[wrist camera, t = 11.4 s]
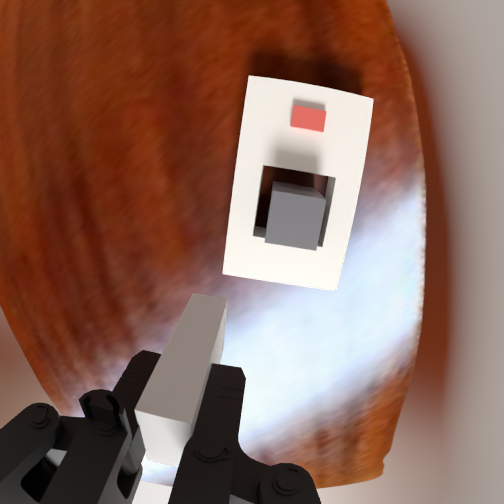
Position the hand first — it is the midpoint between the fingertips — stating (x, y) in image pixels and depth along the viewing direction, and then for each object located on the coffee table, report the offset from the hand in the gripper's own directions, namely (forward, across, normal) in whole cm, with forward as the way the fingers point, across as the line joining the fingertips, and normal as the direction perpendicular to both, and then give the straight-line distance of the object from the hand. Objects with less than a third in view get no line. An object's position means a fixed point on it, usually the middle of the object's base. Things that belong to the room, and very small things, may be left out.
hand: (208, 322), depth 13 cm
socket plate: (+22, +4, +4) cm, 23 cm away
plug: (+22, +4, +1) cm, 22 cm away
